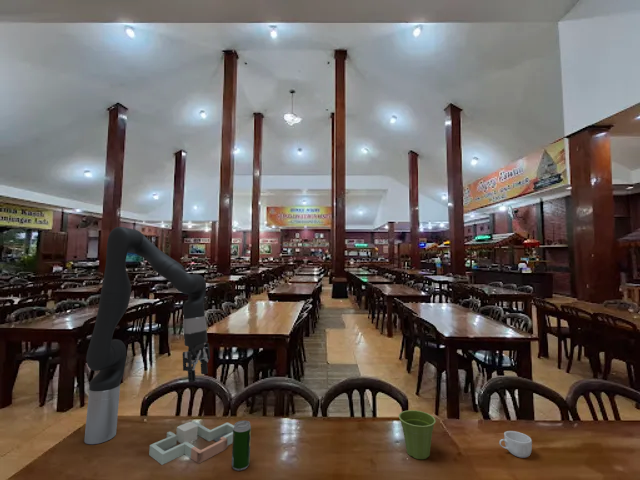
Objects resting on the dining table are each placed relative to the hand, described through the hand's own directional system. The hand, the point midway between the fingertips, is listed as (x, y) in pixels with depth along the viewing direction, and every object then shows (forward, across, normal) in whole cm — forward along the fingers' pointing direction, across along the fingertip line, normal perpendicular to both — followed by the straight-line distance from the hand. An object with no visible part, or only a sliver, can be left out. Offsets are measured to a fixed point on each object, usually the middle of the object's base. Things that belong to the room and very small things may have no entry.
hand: (198, 377), depth 106 cm
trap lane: (+22, -1, -3) cm, 22 cm away
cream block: (+22, -4, -8) cm, 23 cm away
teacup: (+37, -10, +103) cm, 110 cm away
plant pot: (+33, -6, +71) cm, 78 cm away
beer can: (+25, +8, +16) cm, 31 cm away
